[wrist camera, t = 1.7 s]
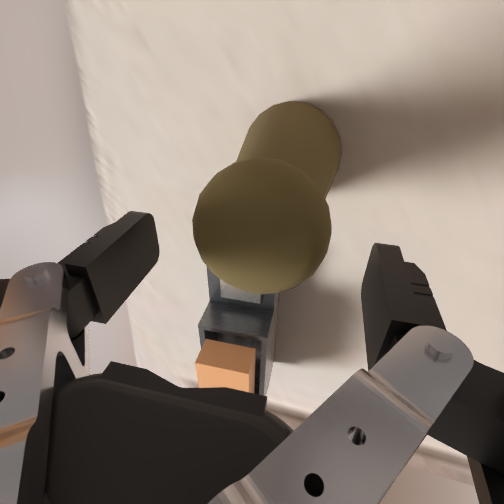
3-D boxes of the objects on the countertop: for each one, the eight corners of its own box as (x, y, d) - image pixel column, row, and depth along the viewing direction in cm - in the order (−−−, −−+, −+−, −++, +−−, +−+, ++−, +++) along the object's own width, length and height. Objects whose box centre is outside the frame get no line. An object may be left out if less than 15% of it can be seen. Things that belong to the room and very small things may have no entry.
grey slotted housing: (219, 239, 24) (192, 284, 20) (282, 247, 23) (270, 297, 19) (225, 352, 32) (208, 402, 28) (273, 362, 31) (262, 415, 27)
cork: (224, 146, 20) (134, 234, 11) (300, 75, 17) (258, 119, 8) (283, 215, 22) (246, 337, 13) (361, 163, 18) (382, 277, 10)
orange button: (205, 338, 22) (195, 362, 20) (255, 348, 21) (248, 374, 19) (212, 400, 26) (204, 423, 25) (253, 409, 26) (248, 434, 24)
